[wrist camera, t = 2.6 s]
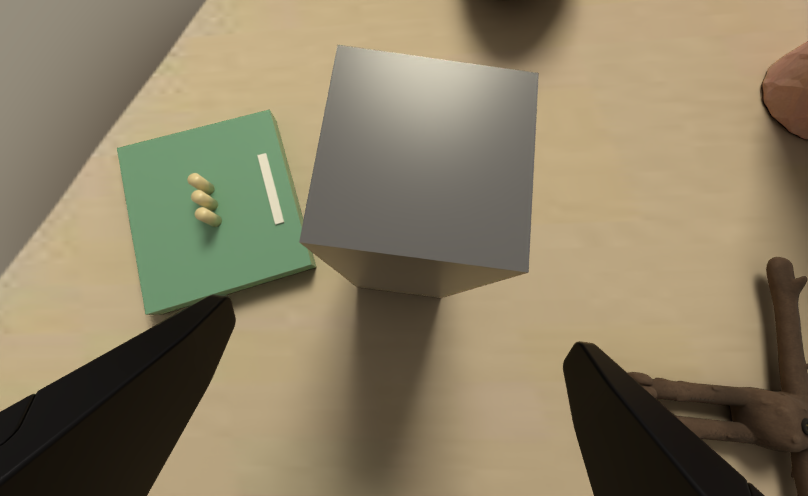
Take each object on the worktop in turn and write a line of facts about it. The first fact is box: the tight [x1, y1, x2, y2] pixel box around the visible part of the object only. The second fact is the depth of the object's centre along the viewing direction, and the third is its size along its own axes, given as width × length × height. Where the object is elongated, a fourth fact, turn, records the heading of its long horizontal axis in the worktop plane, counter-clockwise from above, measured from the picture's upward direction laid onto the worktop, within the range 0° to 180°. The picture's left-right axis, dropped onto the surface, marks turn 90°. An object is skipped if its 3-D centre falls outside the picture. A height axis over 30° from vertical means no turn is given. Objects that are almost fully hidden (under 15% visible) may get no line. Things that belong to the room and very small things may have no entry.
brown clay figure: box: [628, 257, 808, 496], centre depth 18 cm, size 18×4×14 cm
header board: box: [117, 110, 316, 315], centre depth 19 cm, size 10×9×3 cm
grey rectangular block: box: [299, 45, 539, 298], centre depth 14 cm, size 5×5×12 cm
